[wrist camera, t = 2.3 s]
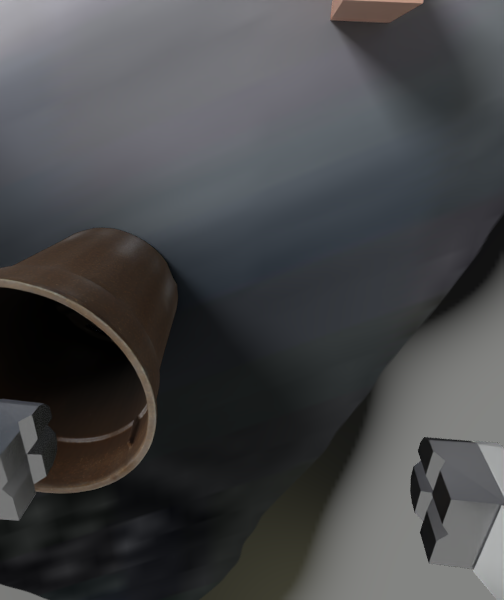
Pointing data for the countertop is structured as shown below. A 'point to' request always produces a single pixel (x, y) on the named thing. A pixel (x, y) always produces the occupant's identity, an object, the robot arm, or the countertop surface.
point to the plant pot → (88, 350)
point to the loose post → (371, 10)
